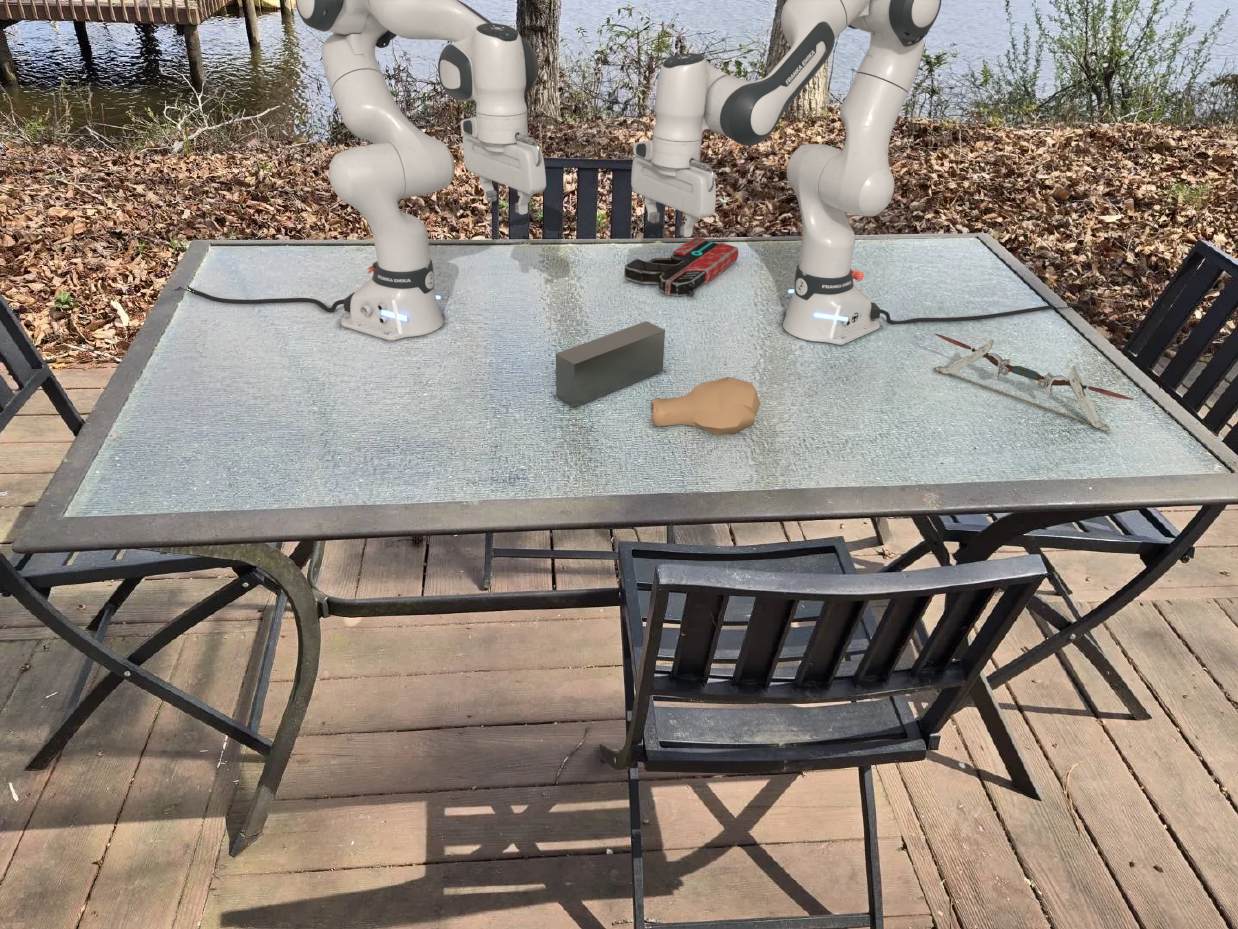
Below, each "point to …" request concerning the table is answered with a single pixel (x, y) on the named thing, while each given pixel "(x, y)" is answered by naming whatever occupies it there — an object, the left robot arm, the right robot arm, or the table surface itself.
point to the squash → (711, 407)
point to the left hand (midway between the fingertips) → (506, 206)
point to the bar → (609, 363)
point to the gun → (684, 267)
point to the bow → (1043, 381)
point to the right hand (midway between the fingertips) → (669, 228)
